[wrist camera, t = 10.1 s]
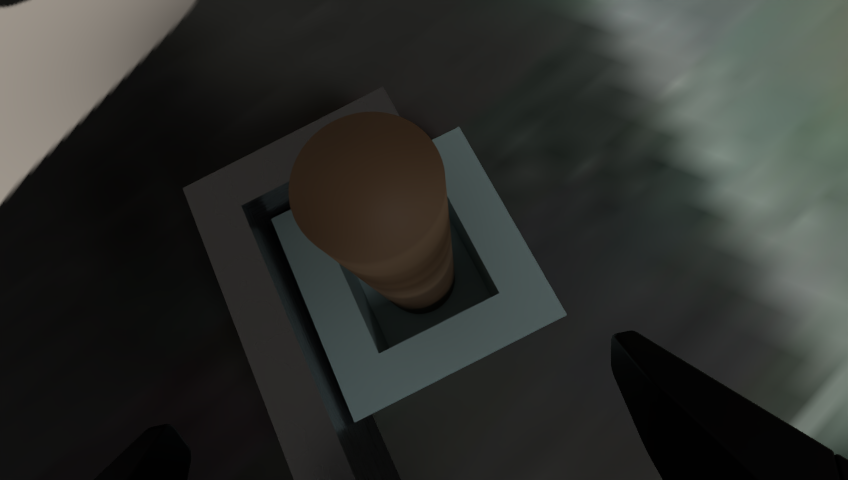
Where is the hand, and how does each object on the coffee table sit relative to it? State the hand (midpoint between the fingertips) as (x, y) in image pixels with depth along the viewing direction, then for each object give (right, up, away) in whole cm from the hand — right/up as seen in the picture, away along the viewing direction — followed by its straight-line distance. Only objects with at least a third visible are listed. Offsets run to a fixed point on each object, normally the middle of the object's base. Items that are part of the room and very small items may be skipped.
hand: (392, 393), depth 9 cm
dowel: (0, +1, +14) cm, 14 cm away
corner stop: (-1, -1, +14) cm, 14 cm away
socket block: (0, +1, +15) cm, 15 cm away
